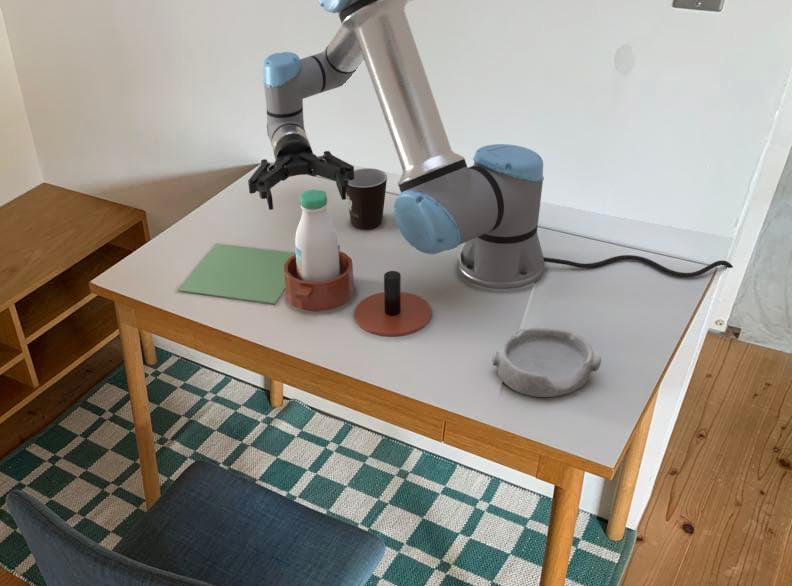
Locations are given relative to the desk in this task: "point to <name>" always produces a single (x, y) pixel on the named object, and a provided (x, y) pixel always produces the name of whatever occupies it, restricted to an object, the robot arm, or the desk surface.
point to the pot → (319, 287)
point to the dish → (545, 362)
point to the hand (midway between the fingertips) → (307, 198)
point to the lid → (392, 310)
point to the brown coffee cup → (366, 198)
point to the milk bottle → (316, 240)
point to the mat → (240, 274)
